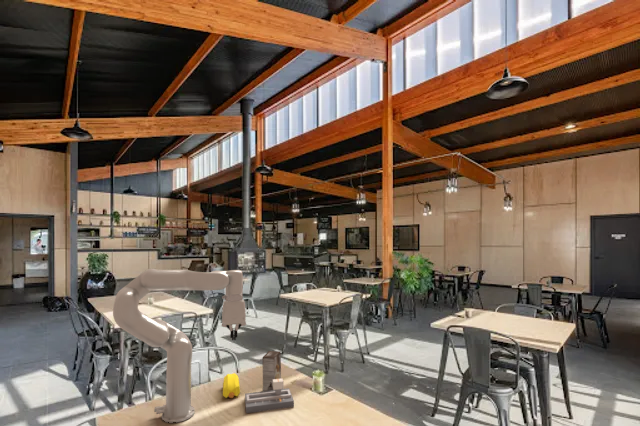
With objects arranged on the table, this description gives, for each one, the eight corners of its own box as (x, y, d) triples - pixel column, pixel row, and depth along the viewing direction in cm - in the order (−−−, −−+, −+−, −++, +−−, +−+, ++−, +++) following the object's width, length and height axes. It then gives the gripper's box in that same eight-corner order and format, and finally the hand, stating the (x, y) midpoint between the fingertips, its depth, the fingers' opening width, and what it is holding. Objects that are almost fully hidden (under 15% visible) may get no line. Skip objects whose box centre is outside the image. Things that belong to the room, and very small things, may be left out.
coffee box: (269, 383, 171) (268, 350, 172) (281, 384, 170) (281, 351, 171) (262, 391, 162) (262, 356, 163) (275, 392, 161) (275, 357, 162)
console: (246, 413, 143) (246, 404, 143) (245, 399, 155) (245, 391, 156) (293, 406, 148) (293, 398, 148) (289, 393, 160) (289, 385, 160)
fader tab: (273, 397, 151) (273, 382, 151) (272, 394, 154) (272, 379, 154) (283, 396, 152) (283, 381, 152) (282, 393, 155) (282, 378, 155)
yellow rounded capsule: (222, 401, 154) (240, 399, 156) (222, 386, 154) (240, 384, 156) (223, 385, 171) (238, 383, 173) (223, 371, 171) (238, 369, 173)
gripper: (216, 300, 151) (216, 343, 149) (251, 298, 154) (251, 340, 153) (217, 297, 158) (216, 338, 157) (250, 295, 162) (250, 335, 160)
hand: (233, 339), depth 155 cm, fingers closed
